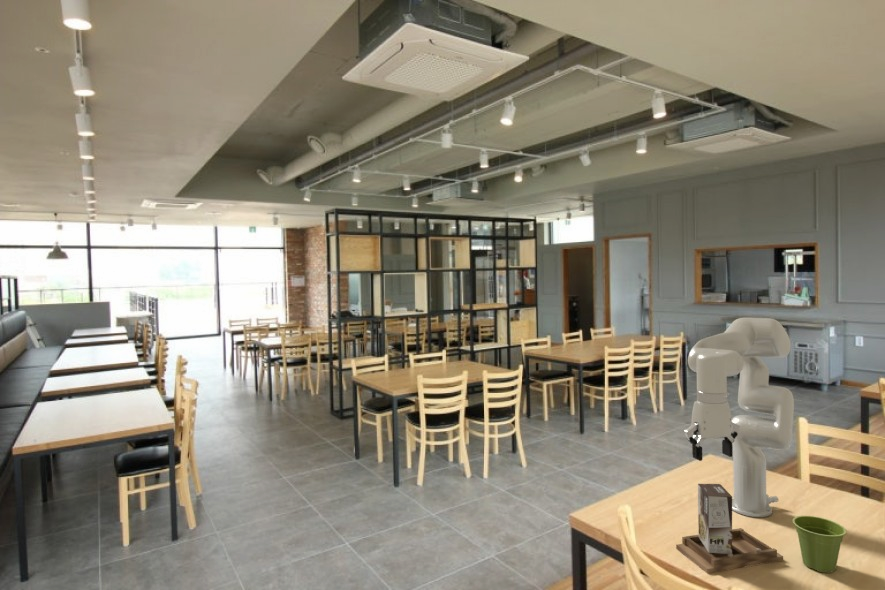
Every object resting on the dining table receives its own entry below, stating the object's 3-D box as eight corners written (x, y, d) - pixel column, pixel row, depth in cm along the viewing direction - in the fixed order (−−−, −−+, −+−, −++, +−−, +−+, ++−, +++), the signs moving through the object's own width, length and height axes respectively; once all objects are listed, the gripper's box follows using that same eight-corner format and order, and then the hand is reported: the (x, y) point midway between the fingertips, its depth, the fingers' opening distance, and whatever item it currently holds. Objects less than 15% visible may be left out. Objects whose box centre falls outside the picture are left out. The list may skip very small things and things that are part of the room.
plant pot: (858, 574, 138) (858, 532, 138) (820, 581, 136) (820, 538, 135) (817, 551, 150) (817, 512, 149) (782, 557, 147) (781, 518, 147)
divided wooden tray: (747, 537, 158) (746, 524, 158) (783, 560, 146) (783, 546, 145) (676, 548, 154) (676, 535, 153) (707, 573, 141) (707, 558, 141)
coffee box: (733, 554, 144) (733, 496, 143) (708, 553, 145) (707, 495, 144) (721, 537, 153) (721, 483, 152) (697, 536, 154) (697, 482, 153)
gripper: (728, 391, 153) (729, 449, 154) (675, 396, 150) (676, 456, 150) (748, 397, 146) (749, 458, 147) (693, 403, 142) (694, 465, 143)
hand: (712, 457), depth 149 cm, fingers open, 9 cm apart
